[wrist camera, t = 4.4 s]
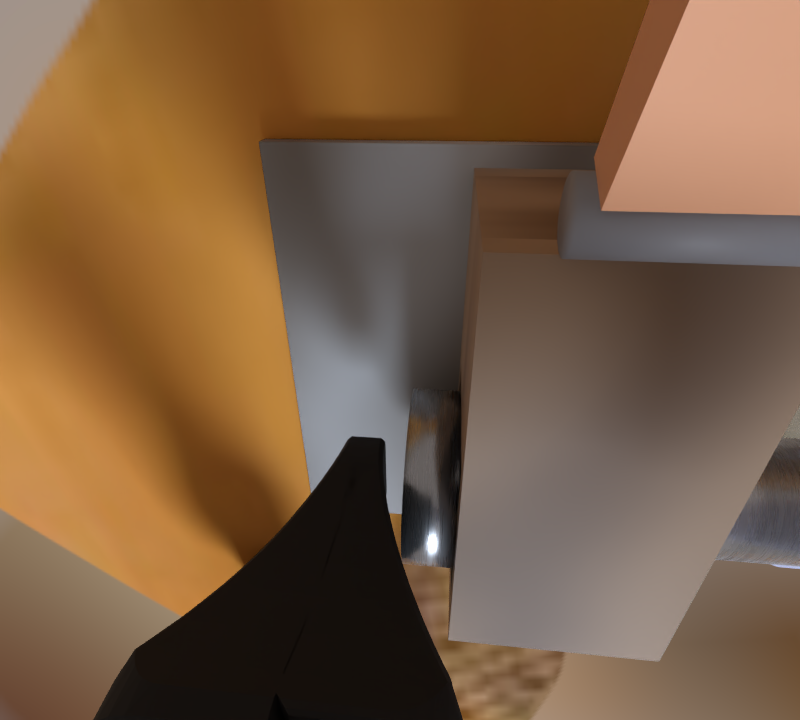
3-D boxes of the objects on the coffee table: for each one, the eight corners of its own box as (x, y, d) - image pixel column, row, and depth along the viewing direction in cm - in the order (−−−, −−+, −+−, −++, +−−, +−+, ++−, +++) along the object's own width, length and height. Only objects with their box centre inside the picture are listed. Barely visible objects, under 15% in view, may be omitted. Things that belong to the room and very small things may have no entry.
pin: (795, 375, 13) (932, 513, 9) (733, 494, 15) (821, 641, 11) (417, 356, 13) (400, 474, 10) (415, 471, 16) (401, 601, 12)
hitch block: (799, 145, 11) (1080, 230, 6) (647, 524, 17) (718, 709, 13) (264, 138, 12) (127, 206, 7) (315, 498, 19) (264, 659, 14)
